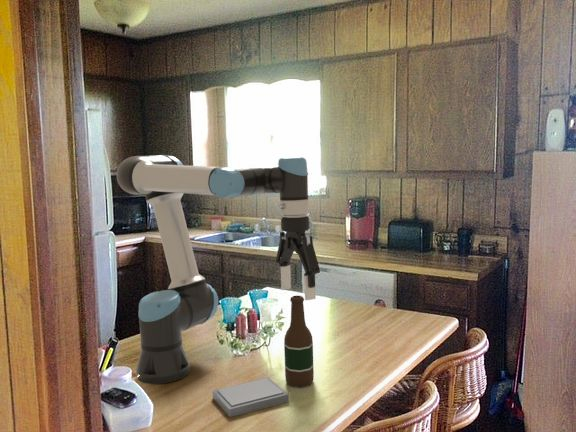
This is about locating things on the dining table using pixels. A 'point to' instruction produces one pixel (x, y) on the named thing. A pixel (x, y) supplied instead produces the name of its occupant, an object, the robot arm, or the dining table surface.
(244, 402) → the slate stand
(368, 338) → the dining table surface
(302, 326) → the beer bottle
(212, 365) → the dining table surface
